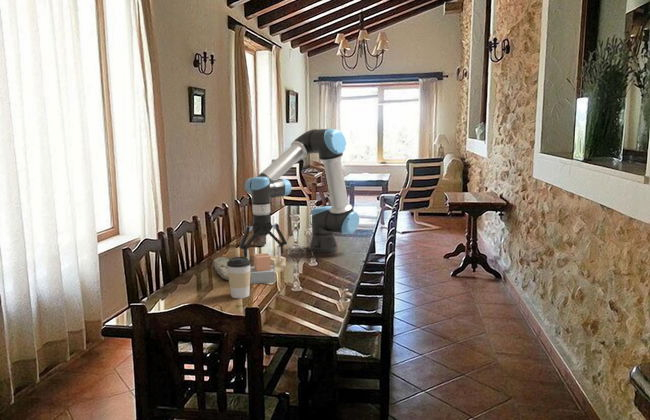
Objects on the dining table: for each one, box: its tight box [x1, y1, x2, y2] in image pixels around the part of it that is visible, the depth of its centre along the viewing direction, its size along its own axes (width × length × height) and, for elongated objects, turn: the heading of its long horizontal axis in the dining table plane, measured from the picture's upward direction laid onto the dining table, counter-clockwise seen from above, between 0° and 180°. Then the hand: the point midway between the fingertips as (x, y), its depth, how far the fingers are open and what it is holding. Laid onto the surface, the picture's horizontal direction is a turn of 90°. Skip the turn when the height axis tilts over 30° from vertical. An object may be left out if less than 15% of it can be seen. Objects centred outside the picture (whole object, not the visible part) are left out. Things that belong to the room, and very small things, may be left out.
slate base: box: [250, 265, 276, 285], centre depth 209 cm, size 10×10×5 cm
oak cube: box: [270, 255, 287, 274], centre depth 223 cm, size 6×6×6 cm
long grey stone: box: [212, 256, 230, 281], centre depth 224 cm, size 35×5×10 cm
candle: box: [252, 212, 267, 247], centre depth 270 cm, size 8×7×20 cm
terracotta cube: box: [253, 252, 271, 271], centre depth 209 cm, size 6×6×6 cm
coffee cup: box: [227, 256, 252, 299], centre depth 189 cm, size 9×9×15 cm
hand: (264, 262), depth 210 cm, fingers open, 13 cm apart
